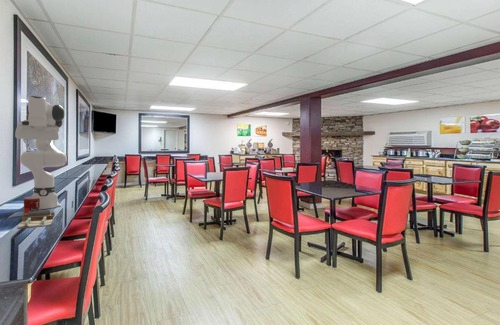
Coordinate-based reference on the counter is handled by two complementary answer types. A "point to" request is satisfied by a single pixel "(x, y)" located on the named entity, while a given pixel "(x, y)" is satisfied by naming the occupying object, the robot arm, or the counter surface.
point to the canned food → (31, 203)
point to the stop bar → (39, 213)
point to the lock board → (36, 221)
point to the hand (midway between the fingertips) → (37, 147)
